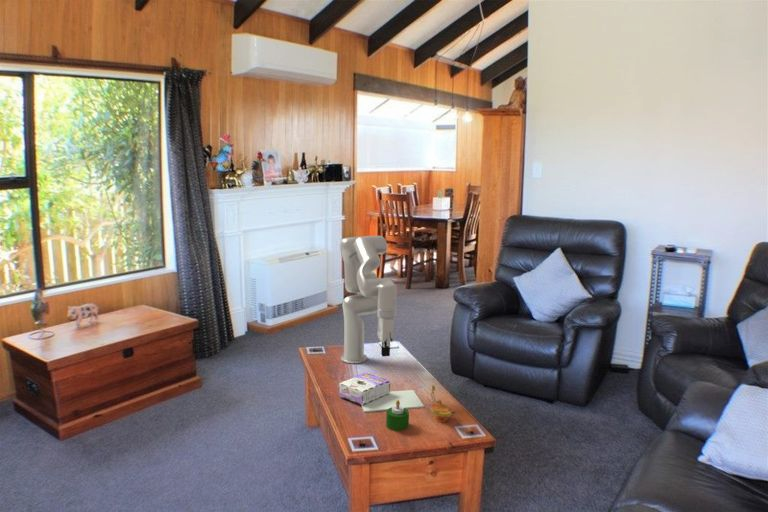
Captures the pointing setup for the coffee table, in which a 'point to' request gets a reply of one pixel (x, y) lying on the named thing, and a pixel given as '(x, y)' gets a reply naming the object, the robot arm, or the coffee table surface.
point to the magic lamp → (440, 409)
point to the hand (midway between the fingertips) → (385, 355)
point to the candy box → (364, 388)
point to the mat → (394, 401)
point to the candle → (397, 418)
